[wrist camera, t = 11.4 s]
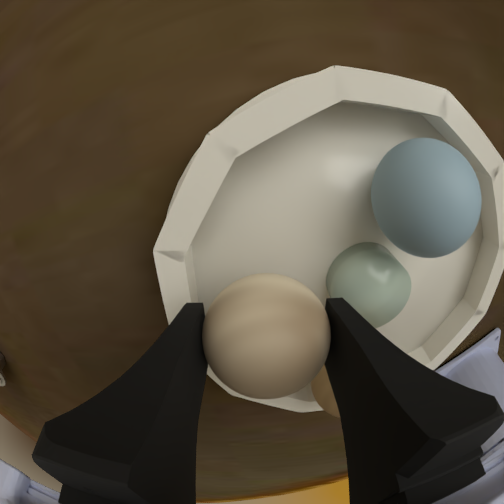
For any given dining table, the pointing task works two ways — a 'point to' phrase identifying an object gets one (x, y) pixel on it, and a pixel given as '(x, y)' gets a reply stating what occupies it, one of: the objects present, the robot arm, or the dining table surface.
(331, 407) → the bead oak
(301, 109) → the tray
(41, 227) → the dining table surface
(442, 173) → the bead blue
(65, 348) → the dining table surface
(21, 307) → the dining table surface
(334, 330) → the robot arm
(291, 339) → the bead birch
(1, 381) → the screw
